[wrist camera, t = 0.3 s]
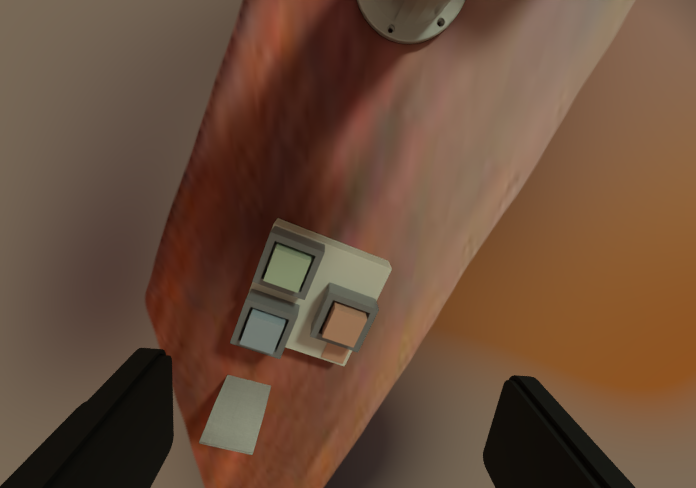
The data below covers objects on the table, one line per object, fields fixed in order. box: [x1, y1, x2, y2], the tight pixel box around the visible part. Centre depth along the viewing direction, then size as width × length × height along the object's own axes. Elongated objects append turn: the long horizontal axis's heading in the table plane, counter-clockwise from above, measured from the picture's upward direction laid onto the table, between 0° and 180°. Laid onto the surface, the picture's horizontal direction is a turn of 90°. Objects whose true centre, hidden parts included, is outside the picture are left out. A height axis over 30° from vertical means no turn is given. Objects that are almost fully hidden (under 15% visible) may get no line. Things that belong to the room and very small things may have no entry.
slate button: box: [240, 308, 286, 354], centre depth 40 cm, size 4×4×2 cm
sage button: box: [263, 242, 312, 293], centre depth 38 cm, size 4×4×2 cm
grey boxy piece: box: [199, 375, 271, 455], centre depth 45 cm, size 4×7×10 cm, turn 70°
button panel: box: [230, 218, 392, 366], centre depth 43 cm, size 16×16×6 cm
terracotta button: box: [322, 301, 367, 348], centre depth 41 cm, size 4×4×2 cm
